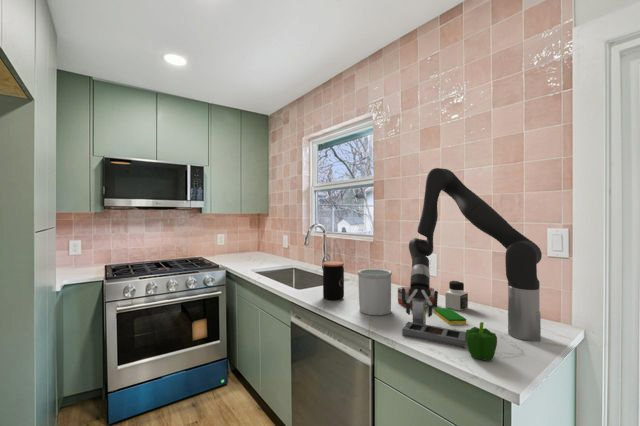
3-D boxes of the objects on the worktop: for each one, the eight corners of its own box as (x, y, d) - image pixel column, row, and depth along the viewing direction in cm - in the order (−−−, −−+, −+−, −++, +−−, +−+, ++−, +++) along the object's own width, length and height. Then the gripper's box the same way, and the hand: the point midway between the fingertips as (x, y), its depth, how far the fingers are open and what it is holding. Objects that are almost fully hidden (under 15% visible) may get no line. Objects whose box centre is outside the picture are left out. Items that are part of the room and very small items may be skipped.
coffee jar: (343, 301, 148) (342, 264, 148) (321, 300, 149) (321, 264, 149) (344, 295, 158) (344, 261, 158) (324, 294, 160) (324, 260, 160)
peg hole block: (466, 339, 104) (466, 332, 104) (464, 348, 97) (464, 340, 97) (408, 327, 114) (408, 321, 114) (402, 335, 107) (402, 328, 107)
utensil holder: (351, 308, 137) (351, 269, 137) (377, 303, 144) (377, 267, 144) (371, 318, 124) (371, 276, 124) (399, 312, 131) (398, 272, 131)
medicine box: (424, 300, 149) (424, 284, 149) (435, 305, 142) (435, 288, 142) (397, 303, 145) (397, 286, 145) (407, 308, 137) (407, 291, 137)
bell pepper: (489, 367, 85) (488, 331, 85) (460, 356, 92) (460, 323, 92) (502, 358, 90) (502, 325, 90) (474, 348, 97) (474, 317, 97)
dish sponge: (449, 325, 117) (449, 319, 117) (433, 313, 131) (433, 308, 131) (466, 325, 117) (466, 319, 117) (449, 313, 131) (449, 307, 131)
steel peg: (425, 324, 117) (425, 298, 117) (423, 327, 114) (423, 301, 114) (415, 322, 119) (414, 297, 119) (412, 325, 116) (412, 299, 116)
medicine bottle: (460, 311, 132) (460, 284, 132) (445, 307, 138) (444, 281, 138) (468, 308, 137) (468, 281, 137) (452, 304, 142) (452, 278, 142)
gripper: (401, 271, 126) (398, 308, 115) (438, 274, 121) (439, 312, 110) (402, 281, 131) (400, 317, 120) (438, 284, 126) (439, 321, 115)
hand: (418, 314), depth 115 cm, fingers open, 7 cm apart
